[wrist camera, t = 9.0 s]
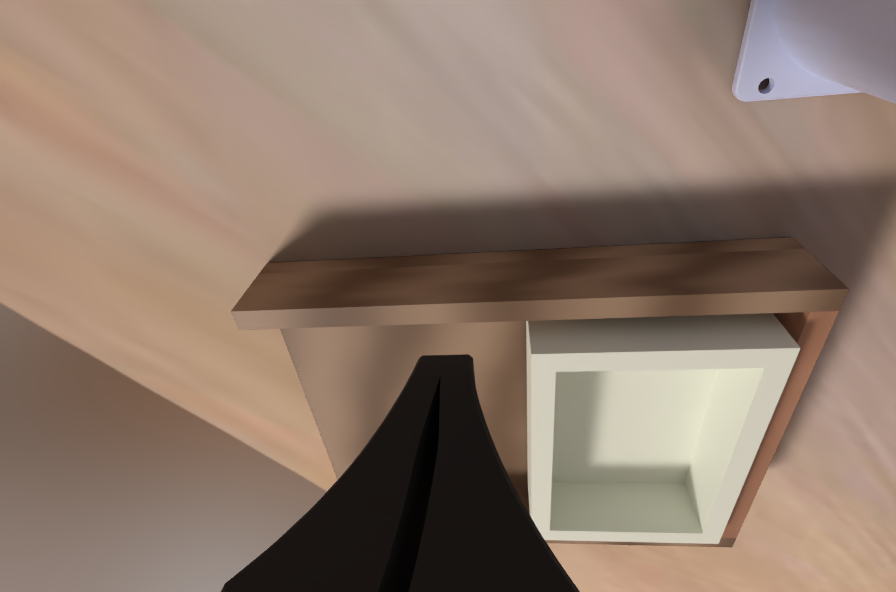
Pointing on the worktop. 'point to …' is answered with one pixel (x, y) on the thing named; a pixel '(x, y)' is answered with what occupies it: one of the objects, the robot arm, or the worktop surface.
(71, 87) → the worktop surface
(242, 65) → the worktop surface
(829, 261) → the worktop surface
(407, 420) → the robot arm
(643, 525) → the crate
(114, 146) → the worktop surface
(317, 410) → the bay
